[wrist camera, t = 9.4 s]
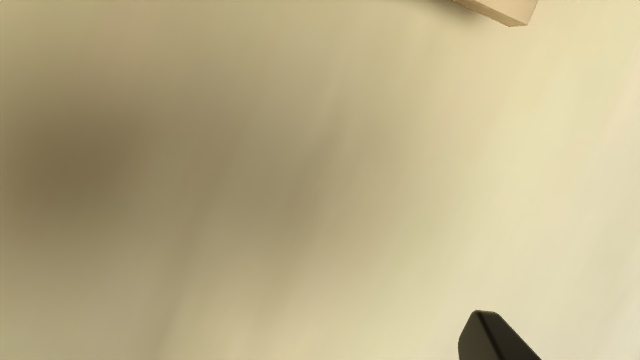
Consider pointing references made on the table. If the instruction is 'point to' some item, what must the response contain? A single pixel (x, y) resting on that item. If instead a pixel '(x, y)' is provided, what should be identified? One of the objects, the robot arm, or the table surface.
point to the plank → (503, 10)
